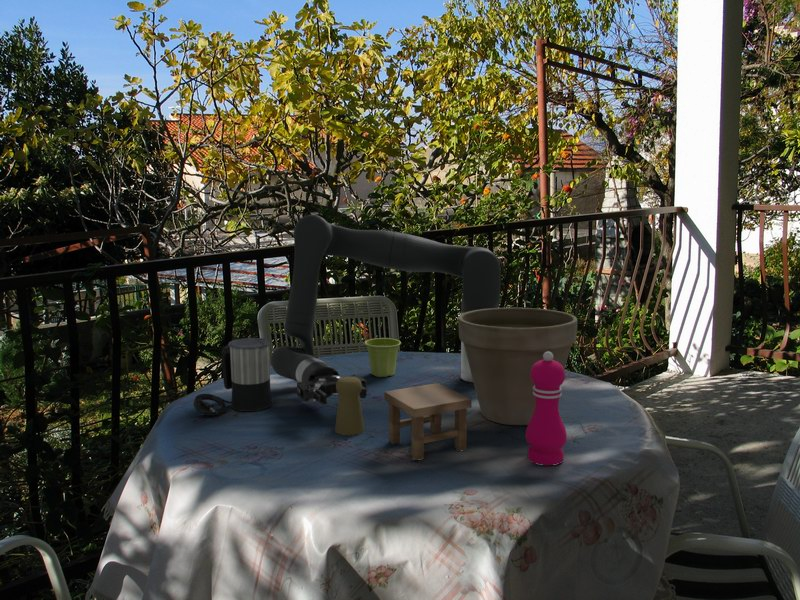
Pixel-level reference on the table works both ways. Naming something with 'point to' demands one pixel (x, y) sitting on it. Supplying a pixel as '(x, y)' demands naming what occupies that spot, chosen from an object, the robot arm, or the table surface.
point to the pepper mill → (546, 413)
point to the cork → (349, 407)
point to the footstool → (427, 415)
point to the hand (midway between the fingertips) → (344, 396)
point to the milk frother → (242, 377)
